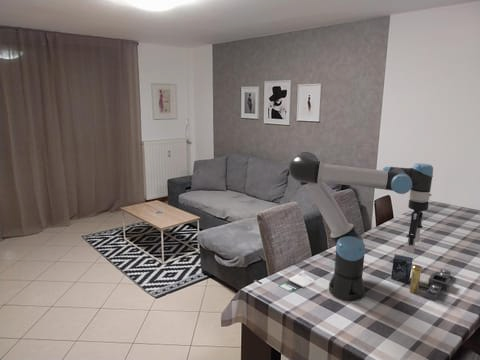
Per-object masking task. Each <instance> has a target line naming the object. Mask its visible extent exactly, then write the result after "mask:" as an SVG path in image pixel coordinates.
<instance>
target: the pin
mask: <svg viewBox="0 0 480 360" xmlns="http://www.w3.org/2000/svg"><path fill="white" fill-rule="evenodd" d="M422 270H423V267H422V266H421V265H418V264H412V267H411V276H410V285H409V293H410V294H413V295H417V294H419V293H418V292H419V286H420V278H421V271H422Z"/></svg>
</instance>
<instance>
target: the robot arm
mask: <svg viewBox="0 0 480 360" xmlns="http://www.w3.org/2000/svg"><path fill="white" fill-rule="evenodd" d="M288 172H289V175H290V176H291V177H292V178H293V180H295V181H296V182H299V183H300V185H301V187H305V188H306V189H307V190H308V192H309V195H310V196H311V198H312V200H313V202H314V203H315V206H316V207H317V209H318V210H319V212H320V213H321V216H322V217H323V219H324V221H325V223H326V224H327V226H328V228H329V229H330V232H331V233H330V236H329V237H330V238H331V239H332V241H333V243H334V245H335V259H334V272H333V275H332V276H331V279H330V281H329V284H328V291H329V292H330V294H331V295H332V296H334V297H336V298H338V299H340V300H344V301H351V302H352V301H353V302H354V301H361V300H362V299H363V298H365V296H366V288H365V284H364V283H365V282H364V280H363V273H364V262H365V254H366V245H365V242H364V240H363V237H362V235H361V233H360V232H359V231H358V230H357V229H356V228H355V226H354V224H353V223H349V222H348V220H347V218H346V217H345V215H344V213H343V212H342V209H341V208H340V206H339V204H338V202H337V201H336V199H335V198H334V195H333V194H332V191H331V189H330V188H329V187H328V185H327V183H331V184H335V185H336V184H337V185H345V186H346V185H347V186H354V187H360V188H361V187H362V188H369V189H375V190H376V189H378V190H385V191H393V192H394V193H396V194H399V195H405V194H407V193H409V200H408V209H410V210H413V211H412V212H411V214H410V215H411V218H410V225H409V230H408V233H407V234H406V237H407V238H408V239H407V246H406V247H407V248H406V252H408V253H412V254H414V252H415V248H416V247H415V246H416V243H420V242H419V241H420V235H421V229H423V225H422V219H423V216H424V213H423V212H425V211H428V209H429V203H430V202H429V201H430V197H432V193H431V188H432V181H433V176H434V175H433V174H434V166H433V165H432V164H428V163H423V162H422V163H414V164H413V166H412V167H409V168H408V167H398V166H396V167H395V166H384V167H382V169H380V170H379V169H371V168H362V167H354V166H345V165H337V164H328V163H323V162H322V160H319V159H318V157H317V156H316V155H315V154H314V153H312V152H309V151H301V152H299V153H297V154H296V155H295V156H294V157H293V158H292V160H291V161H290V162H289V165H288Z"/></svg>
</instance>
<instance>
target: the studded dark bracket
mask: <svg viewBox="0 0 480 360" xmlns="http://www.w3.org/2000/svg"><path fill="white" fill-rule="evenodd" d="M451 274H452V272H451V271H450V270H449V269H447V268H443V269H440V271H439V272H438V274H437V273H434V272H433V273H432V274H430V277H429V278H428V281H427V282H428V283H427V287H428V289H427V290H426V292H425V296H424V297H425V298H426V299H428V300H430V301H434V302H436V301H437V300H438V298H439V296H440V295H441V293H442V291H443V292H447V291H448V290H449V289H450V286H451V280H452V278H451Z"/></svg>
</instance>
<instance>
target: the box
mask: <svg viewBox="0 0 480 360" xmlns="http://www.w3.org/2000/svg"><path fill="white" fill-rule="evenodd" d="M413 260H414V258H413V257H410V256H405V255H400V254H396V253H394V256H393V261H392V262H393V263H392V270H391V277H390V279H391V280H392V279H393V280H395V281H396V280H397V281H400V282H405V283H408V284H409V283H410V281H411V275H412V265H413Z"/></svg>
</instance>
